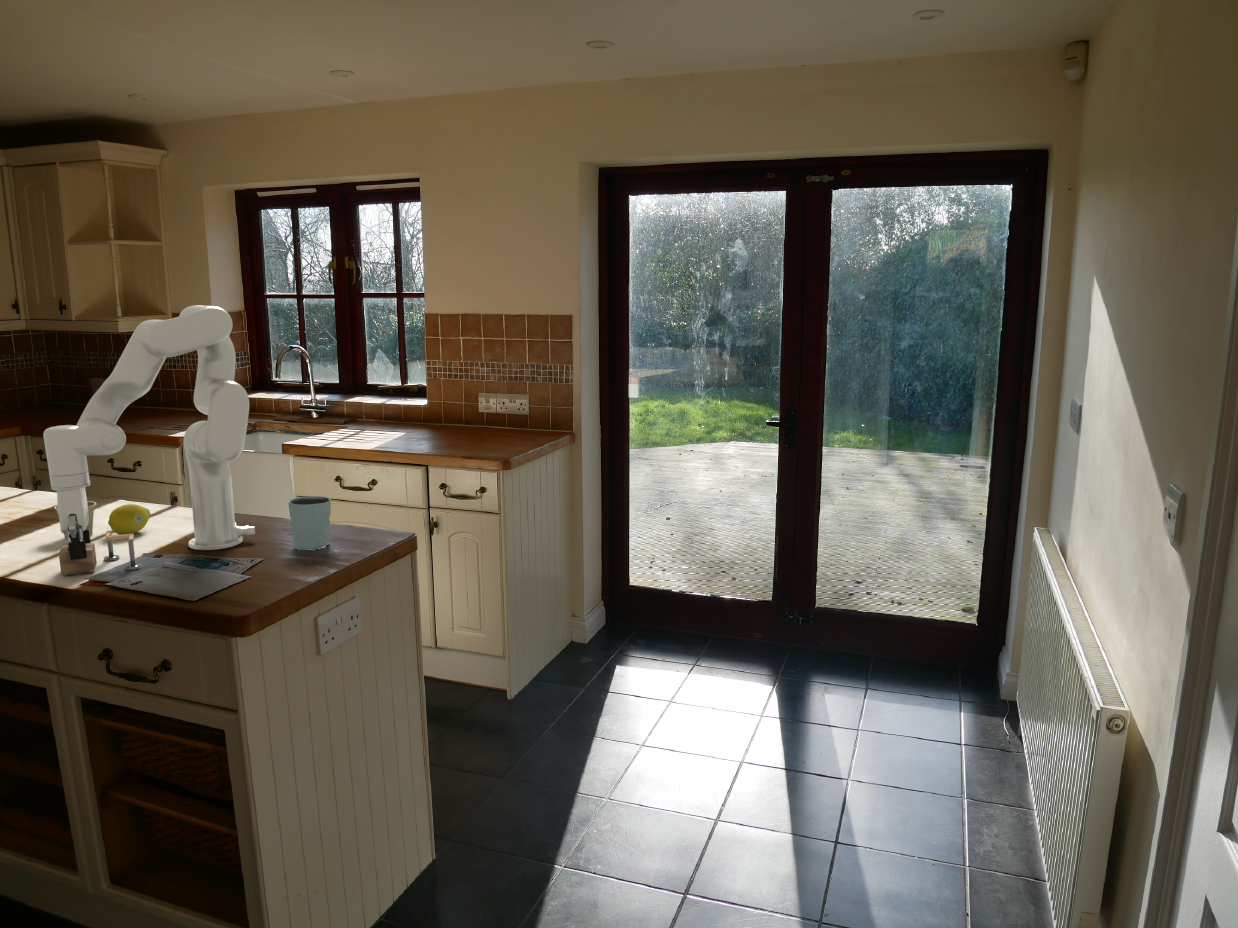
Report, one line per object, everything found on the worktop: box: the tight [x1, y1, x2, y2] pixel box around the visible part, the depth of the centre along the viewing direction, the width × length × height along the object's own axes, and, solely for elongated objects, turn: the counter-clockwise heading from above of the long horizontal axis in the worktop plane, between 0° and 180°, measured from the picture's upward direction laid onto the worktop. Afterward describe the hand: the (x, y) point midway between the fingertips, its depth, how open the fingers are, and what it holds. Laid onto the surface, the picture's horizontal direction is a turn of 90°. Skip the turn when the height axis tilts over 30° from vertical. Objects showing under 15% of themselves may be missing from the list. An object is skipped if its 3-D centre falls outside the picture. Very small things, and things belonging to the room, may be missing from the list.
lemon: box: [107, 503, 151, 535], centre depth 231 cm, size 11×8×8 cm
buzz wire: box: [103, 530, 142, 571], centre depth 205 cm, size 5×14×7 cm, turn 62°
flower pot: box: [53, 500, 97, 540], centre depth 227 cm, size 9×9×9 cm
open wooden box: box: [58, 542, 98, 576], centre depth 200 cm, size 6×6×5 cm
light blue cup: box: [287, 495, 332, 551], centre depth 221 cm, size 10×10×12 cm
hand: (81, 552), depth 200 cm, fingers open, 9 cm apart
